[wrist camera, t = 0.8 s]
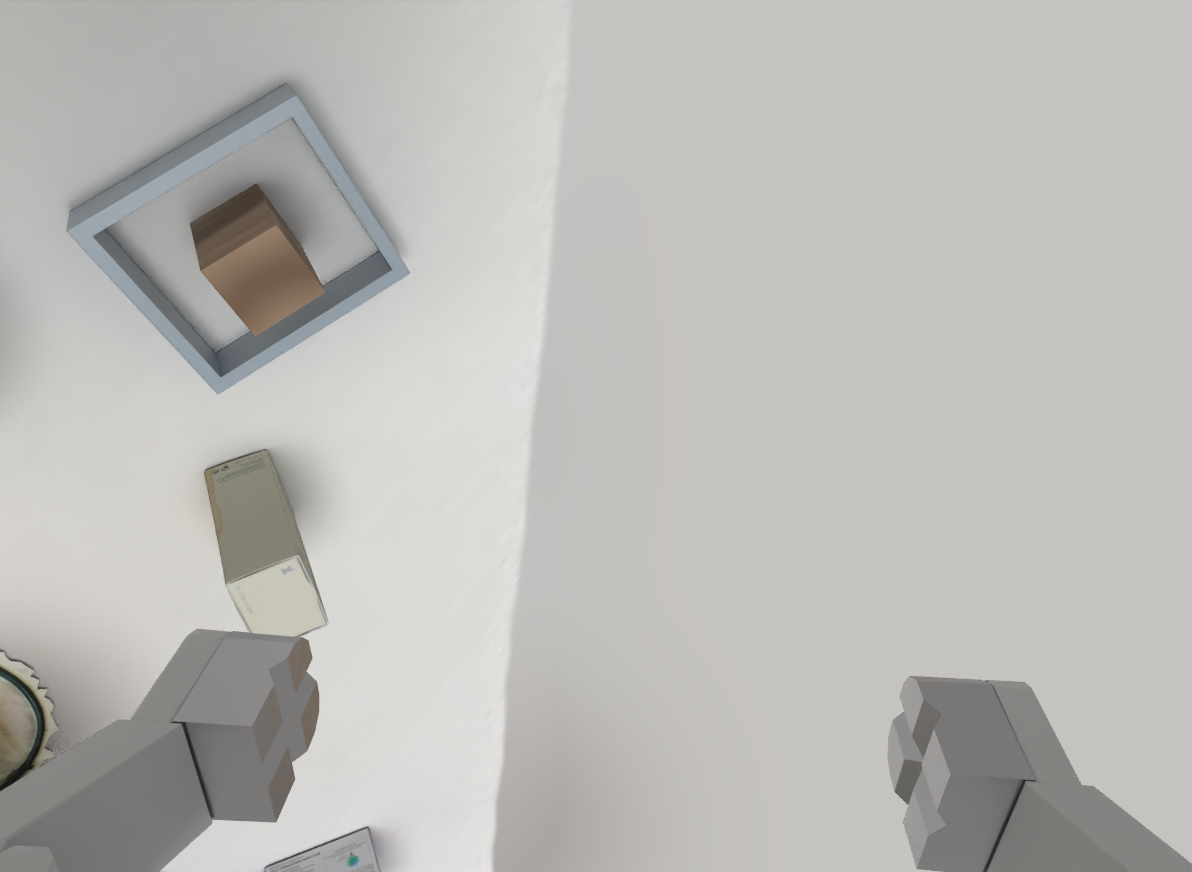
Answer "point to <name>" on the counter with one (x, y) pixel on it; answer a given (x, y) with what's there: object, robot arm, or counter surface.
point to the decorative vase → (22, 722)
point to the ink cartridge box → (335, 857)
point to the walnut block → (254, 260)
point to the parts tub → (181, 166)
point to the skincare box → (263, 549)
